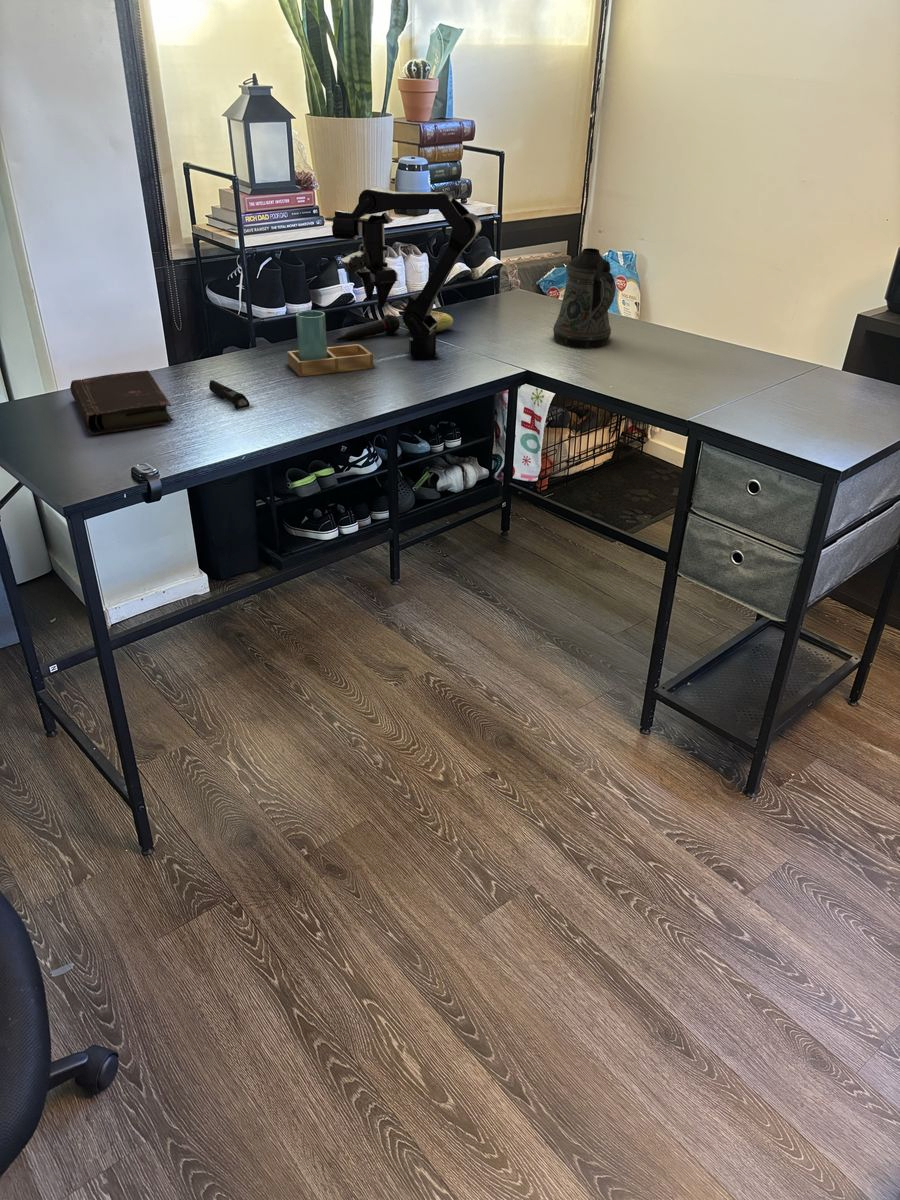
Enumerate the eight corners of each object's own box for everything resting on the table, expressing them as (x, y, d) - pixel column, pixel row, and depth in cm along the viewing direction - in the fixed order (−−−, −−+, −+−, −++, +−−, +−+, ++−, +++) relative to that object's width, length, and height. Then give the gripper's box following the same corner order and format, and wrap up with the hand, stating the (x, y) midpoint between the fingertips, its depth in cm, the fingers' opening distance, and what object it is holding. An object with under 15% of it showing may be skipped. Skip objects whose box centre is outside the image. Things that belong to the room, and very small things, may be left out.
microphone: (341, 353, 252) (402, 335, 260) (341, 335, 248) (403, 318, 255) (333, 342, 255) (393, 325, 262) (332, 325, 250) (394, 308, 258)
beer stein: (570, 329, 266) (577, 241, 253) (628, 341, 257) (639, 250, 244) (541, 341, 255) (548, 249, 242) (602, 354, 245) (612, 259, 232)
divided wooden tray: (360, 357, 239) (359, 343, 237) (373, 368, 231) (373, 354, 229) (288, 365, 232) (287, 351, 230) (299, 376, 224) (298, 362, 222)
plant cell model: (461, 324, 260) (420, 310, 251) (449, 347, 263) (408, 335, 254) (445, 307, 267) (404, 293, 257) (434, 331, 270) (393, 318, 261)
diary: (88, 436, 187) (83, 413, 184) (72, 400, 205) (68, 379, 203) (177, 423, 194) (174, 401, 191) (154, 390, 213) (151, 369, 210)
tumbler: (332, 362, 232) (329, 311, 225) (321, 370, 226) (318, 318, 219) (306, 359, 233) (303, 309, 226) (295, 367, 227) (291, 316, 220)
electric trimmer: (220, 390, 214) (219, 377, 212) (251, 407, 204) (250, 393, 202) (206, 393, 212) (204, 380, 210) (236, 410, 202) (235, 397, 200)
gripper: (332, 236, 233) (335, 298, 241) (355, 249, 218) (358, 314, 226) (372, 234, 237) (373, 294, 245) (397, 246, 222) (398, 310, 230)
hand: (375, 303), depth 236 cm, fingers open, 9 cm apart
